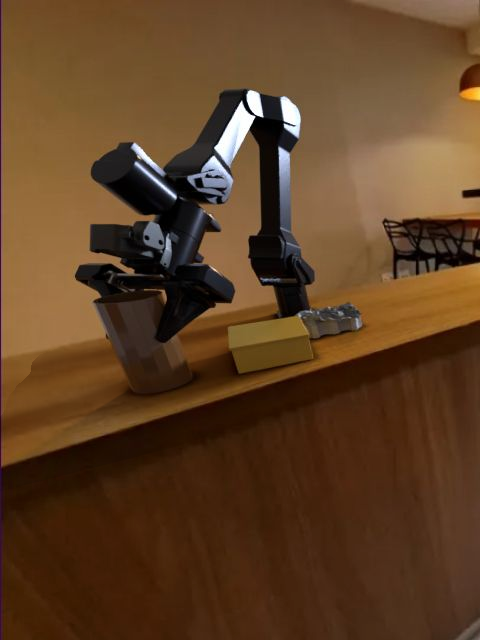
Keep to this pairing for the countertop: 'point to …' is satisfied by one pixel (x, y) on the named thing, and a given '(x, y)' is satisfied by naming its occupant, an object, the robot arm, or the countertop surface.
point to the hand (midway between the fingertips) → (135, 340)
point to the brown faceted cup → (143, 341)
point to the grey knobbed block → (331, 320)
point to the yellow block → (269, 344)
